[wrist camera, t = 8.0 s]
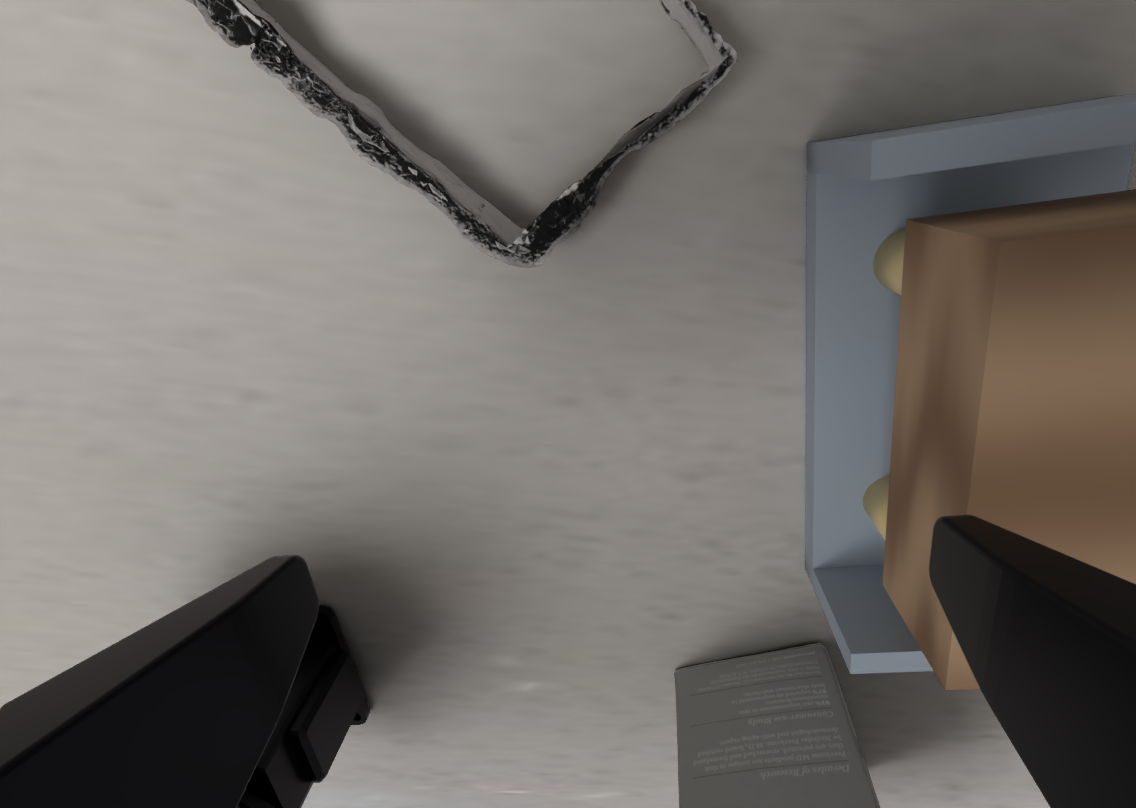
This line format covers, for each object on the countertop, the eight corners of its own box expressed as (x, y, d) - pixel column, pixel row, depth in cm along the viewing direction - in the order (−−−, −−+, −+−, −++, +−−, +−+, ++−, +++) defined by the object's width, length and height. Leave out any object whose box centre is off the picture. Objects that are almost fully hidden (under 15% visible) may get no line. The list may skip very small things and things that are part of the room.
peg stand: (1035, 555, 22) (1144, 663, 17) (805, 569, 23) (850, 674, 18) (1116, 95, 16) (1309, 74, 12) (806, 142, 17) (872, 140, 13)
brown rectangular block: (1058, 575, 18) (1169, 683, 14) (882, 584, 19) (944, 690, 15) (1135, 189, 14) (1317, 202, 10) (906, 219, 15) (1000, 242, 11)
